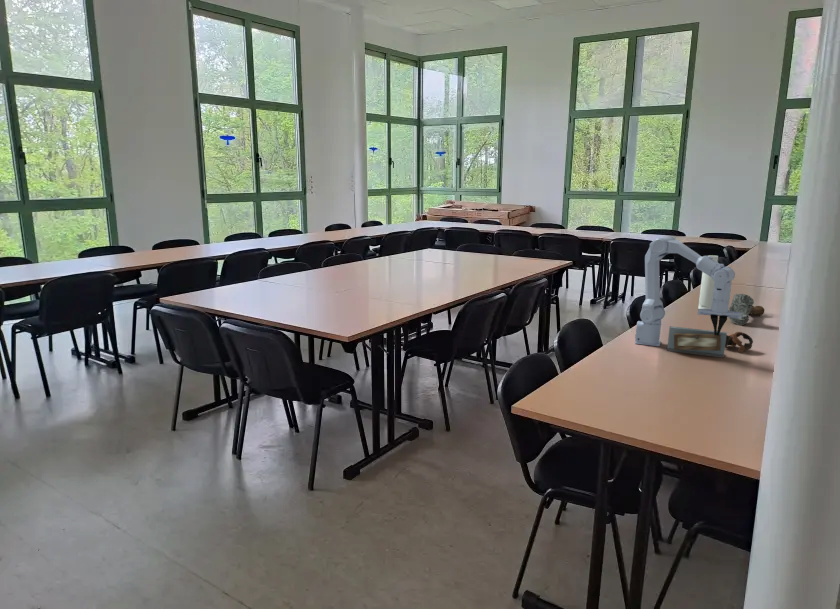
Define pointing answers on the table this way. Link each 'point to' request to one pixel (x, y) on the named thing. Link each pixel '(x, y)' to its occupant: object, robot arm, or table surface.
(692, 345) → the brown rectangular panel
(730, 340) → the pottery mug
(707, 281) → the bottle
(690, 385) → the table surface
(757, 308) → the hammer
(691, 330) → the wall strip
